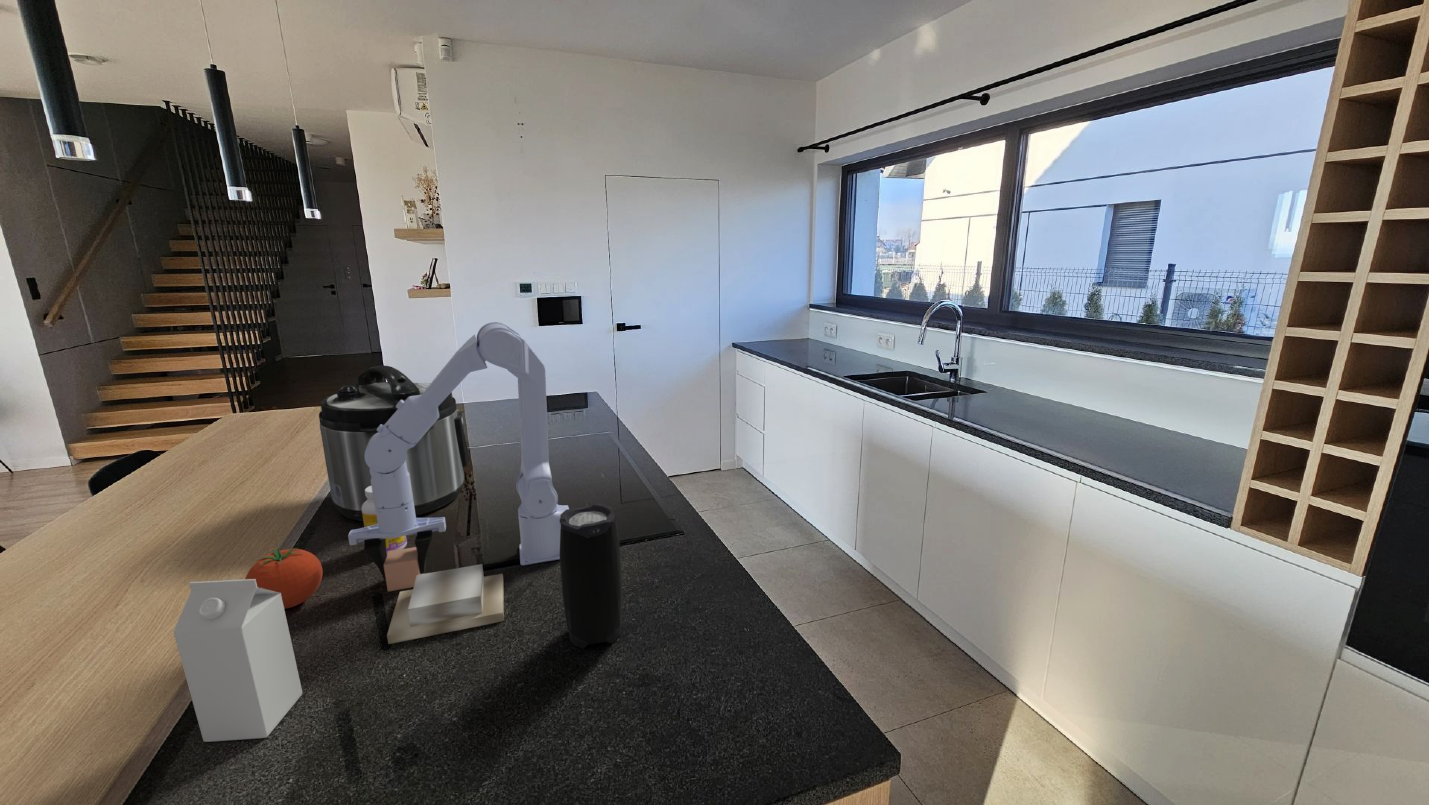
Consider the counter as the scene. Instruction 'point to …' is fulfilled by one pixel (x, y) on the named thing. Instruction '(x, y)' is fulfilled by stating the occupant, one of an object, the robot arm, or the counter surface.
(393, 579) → the cube
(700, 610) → the counter surface
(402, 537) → the supplement bottle
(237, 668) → the milk carton
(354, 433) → the pressure cooker
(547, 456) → the robot arm
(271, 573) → the tomato
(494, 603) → the base
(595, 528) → the portable speaker
